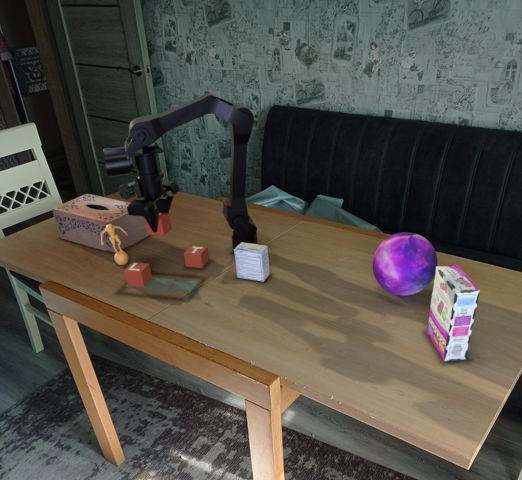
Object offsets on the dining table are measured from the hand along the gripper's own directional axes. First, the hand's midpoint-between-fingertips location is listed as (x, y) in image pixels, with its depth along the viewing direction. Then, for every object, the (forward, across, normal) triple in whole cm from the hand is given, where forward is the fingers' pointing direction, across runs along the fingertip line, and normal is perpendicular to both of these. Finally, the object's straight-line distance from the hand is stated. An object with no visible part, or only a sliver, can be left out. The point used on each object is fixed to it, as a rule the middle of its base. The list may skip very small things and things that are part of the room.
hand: (159, 228), depth 147 cm
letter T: (+11, -1, +9) cm, 14 cm away
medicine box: (+11, +3, +27) cm, 30 cm away
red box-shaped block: (+1, 0, 0) cm, 1 cm away
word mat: (+11, +12, +4) cm, 17 cm away
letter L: (+10, +12, -2) cm, 16 cm away
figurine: (+11, +2, -14) cm, 18 cm away
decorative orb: (+11, +3, +66) cm, 67 cm away
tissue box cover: (+11, -14, -29) cm, 34 cm away
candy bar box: (+11, +24, +78) cm, 82 cm away
